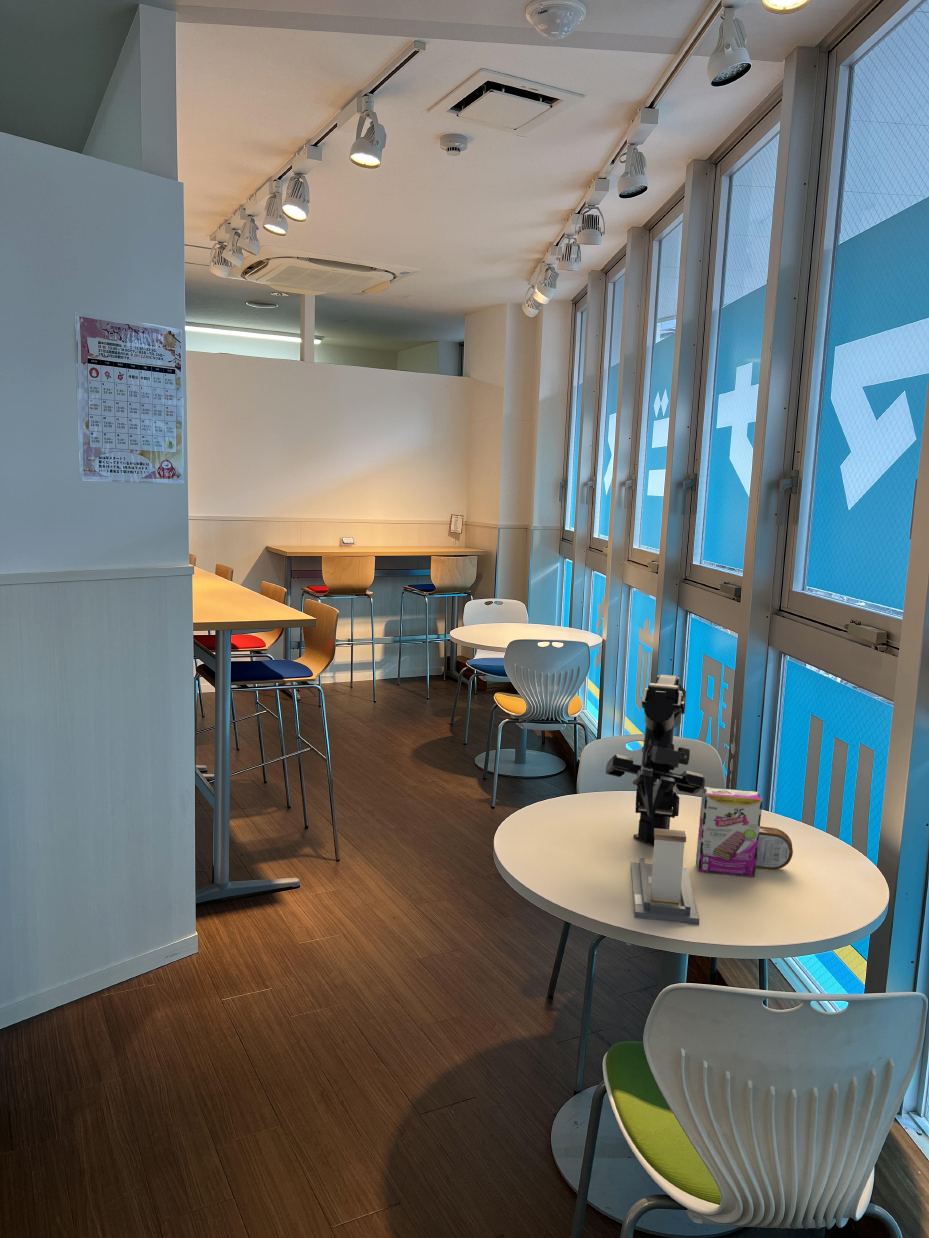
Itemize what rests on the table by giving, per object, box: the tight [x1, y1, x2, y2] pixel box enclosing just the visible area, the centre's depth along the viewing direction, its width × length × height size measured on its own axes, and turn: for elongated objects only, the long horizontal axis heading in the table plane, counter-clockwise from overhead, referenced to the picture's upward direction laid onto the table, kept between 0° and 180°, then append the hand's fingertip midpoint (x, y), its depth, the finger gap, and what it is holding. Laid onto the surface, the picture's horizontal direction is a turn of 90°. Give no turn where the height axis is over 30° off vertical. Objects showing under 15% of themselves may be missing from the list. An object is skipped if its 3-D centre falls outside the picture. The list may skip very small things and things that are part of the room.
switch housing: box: [630, 857, 700, 925], centre depth 160 cm, size 22×11×2 cm, turn 171°
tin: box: [755, 825, 794, 871], centre depth 174 cm, size 15×3×8 cm, turn 77°
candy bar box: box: [695, 786, 763, 878], centre depth 171 cm, size 11×5×16 cm, turn 82°
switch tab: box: [651, 828, 687, 903], centre depth 154 cm, size 3×5×12 cm, turn 81°
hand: (650, 816), depth 167 cm, fingers closed
